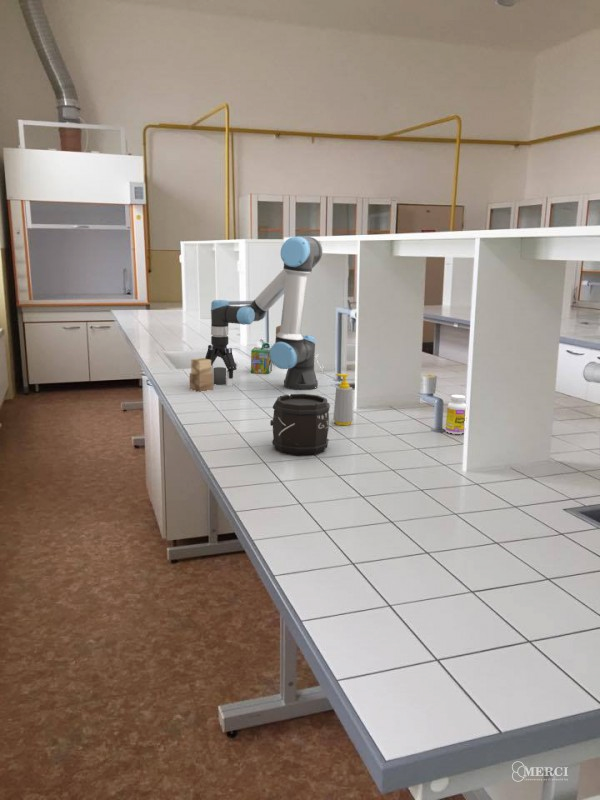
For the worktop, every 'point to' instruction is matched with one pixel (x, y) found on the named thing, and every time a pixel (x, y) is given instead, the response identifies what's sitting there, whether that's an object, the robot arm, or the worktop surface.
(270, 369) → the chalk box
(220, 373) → the stopper
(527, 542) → the worktop surface
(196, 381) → the walnut cube
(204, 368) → the oak cube
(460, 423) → the supplement bottle
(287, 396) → the wooden barrel
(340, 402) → the soap bottle
